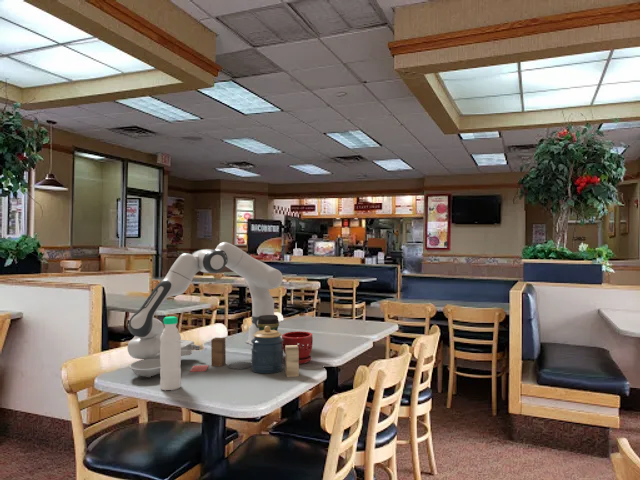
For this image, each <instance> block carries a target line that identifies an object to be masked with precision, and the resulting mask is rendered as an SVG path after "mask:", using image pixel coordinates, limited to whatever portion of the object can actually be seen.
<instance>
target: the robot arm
mask: <svg viewBox="0 0 640 480" xmlns="http://www.w3.org/2000/svg"><path fill="white" fill-rule="evenodd" d="M225 267H226V268H228V270H230V271H232V272H234V273H235V274H237V275H238V276H240V277H241V278H243V279H244V282H245V284H246V285H247V286H248V289H249V292H250V296H251V302H252V303H251V305H252V308H251V310H252V315H251V324H250V325H249V327H248V339H246V340H245V343H246V344H249V345H252V342H251V340H252V339H254V336H253V334H255V333H256V332H257V331H259V327H258V319H259V316H262V315H275V300H274V298H273V296H272V295H271V293H270V292H271V291H270V290H274V289H277V288H280V286H281V285H282V283H283V280H284V279H283V277H284V276H283V274H282V272H281V271H280V270H279V269H277V268H274V267H272V266H270V265H268V264H267V263H265V262H263V261H261V260H260V259H259V260H258V259H256V258H255V257H253V256H251V255H250V254H248V253H247V252H245V251H244V250H243V249H241V248H240V247H238V246H237V245H234V244H232V243H230V242H227V241H223V242H220V243H219V244H217V246H216V248H215V249H209V248H205V249H204V248H203V249H202V248H201V249H197V250H195V251H194V252H192V253H181V254H180V255H179V256H178V257H177V258H176V260H175V261H174V263H173V264H172V265H171V266H170V269H169V270H168V272H167V274H166V275H165V277H164V278H163V279H162V280H161V281H160V282H159V283H158V284H157V285H156V286H155V288H154V289H152V291H151V293H150V294H149V296H148V297H147V298H146V300H145V301H144V303H143V304H142V305H141V307H140V308H139V309H138V310H137V311H136V312H135V313H134V314H132V315H131V316H130V319H129V320H128V326H127V328H128V332H129V333H130V334H131V335H132V336H134V337H133V338H132V339H130V340H129V341H128V343H127V352H128V355H129V356H130V357H131V358H133V359H137V360H144V359H160V345H161V341H160V337H161V334H162V333H163V330H164V328H165V325H164V323H163V321H161V320H159V319H158V318H156V317H155V314H156V313H157V311H158V310H159V308H160V307H161V305H162V304H163V303H164V302H165V300H166V299H168V298H170V297H174V296H176V297H177V296H179V295H182V294H184V293H185V292H186V290H188V288H189V287H190V284H191V283H192V281H193V279H194V278H195V277H194V276H196V274H198V272H202V273H206V274H208V273H209V274H216V273H219V272H221V271H222V270H223V269H224V268H225ZM280 337H281V338H282V335H281V336H280ZM180 343H181V357H184V356H191V355H192V353H193V352H192V351H194V350H195V351H200V350H201V349H202V346H201V345H199V344H198V345H197V344H195V341H194V340H186V339H181V340H180Z"/></svg>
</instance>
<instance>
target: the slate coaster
mask: <svg viewBox="0 0 640 480" xmlns="http://www.w3.org/2000/svg"><path fill="white" fill-rule="evenodd" d="M251 363H252V361H251V362H250V361H234V362H232V363H228V368H229V369H233V370H246V369H251Z"/></svg>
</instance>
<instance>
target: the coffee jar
mask: <svg viewBox="0 0 640 480" xmlns="http://www.w3.org/2000/svg"><path fill="white" fill-rule="evenodd" d="M279 321H280V320H279V317H278V315H277V314H274V315H262V316H259V319H258V327H259V331H261V330H264V327H265V326H269V327H270V330H276V331H278V332H279V326H280V322H279Z"/></svg>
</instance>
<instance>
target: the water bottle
mask: <svg viewBox="0 0 640 480" xmlns="http://www.w3.org/2000/svg"><path fill="white" fill-rule="evenodd" d="M162 323H163V325H164V330H163V333H162V334H161V337H160V341H161V345H160V365H161V370H160V373H159V374H160V375H159V376H160V380H159V387H160V389H161V390H162V391H166V390H171V391H176V390H178V389H180V388H181V387H182V377H181V376H182V368H181V364H182V363H181V362H182V356H181V343H180V340H182V337H181V333H180V332H179V329H178V327H177V325H178V317H177V316H174V315H173V316H165V317H164V318H163V320H162Z"/></svg>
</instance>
